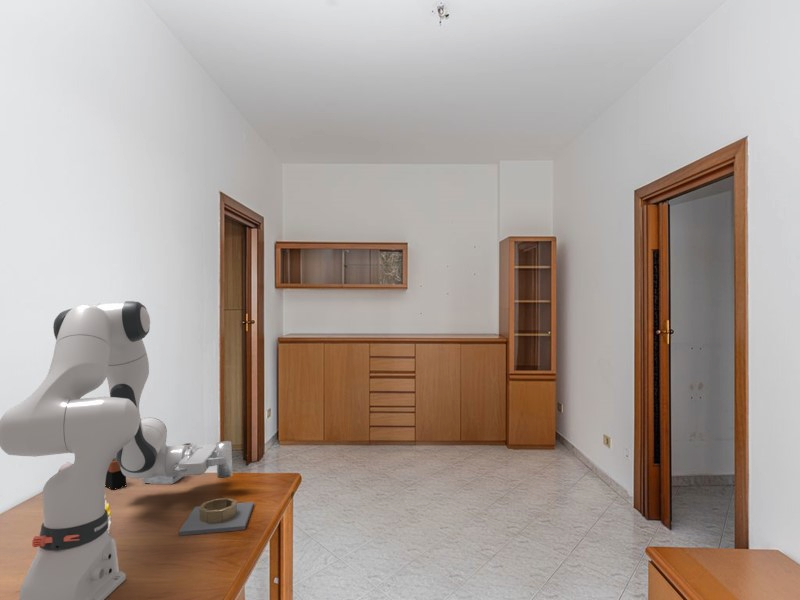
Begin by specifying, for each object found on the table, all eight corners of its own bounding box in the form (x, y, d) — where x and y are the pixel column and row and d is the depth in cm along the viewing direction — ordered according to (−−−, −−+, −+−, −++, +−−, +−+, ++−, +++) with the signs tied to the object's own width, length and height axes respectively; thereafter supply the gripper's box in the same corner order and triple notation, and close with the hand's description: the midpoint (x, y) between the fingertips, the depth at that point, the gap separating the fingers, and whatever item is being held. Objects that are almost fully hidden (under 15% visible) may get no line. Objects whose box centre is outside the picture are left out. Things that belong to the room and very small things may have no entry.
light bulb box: (183, 477, 177) (182, 445, 177) (172, 484, 171) (171, 451, 171) (153, 477, 178) (151, 445, 178) (141, 484, 172) (140, 451, 172)
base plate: (244, 529, 135) (244, 525, 135) (179, 535, 133) (179, 531, 133) (253, 505, 151) (253, 501, 151) (195, 510, 149) (195, 506, 149)
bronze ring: (232, 521, 138) (232, 509, 138) (197, 524, 137) (196, 512, 137) (238, 507, 147) (238, 497, 147) (205, 510, 146) (204, 499, 146)
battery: (112, 490, 167) (111, 459, 167) (103, 486, 171) (102, 455, 171) (127, 486, 170) (125, 455, 170) (117, 482, 175) (116, 452, 174)
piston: (231, 477, 159) (229, 444, 159) (215, 478, 159) (214, 445, 159) (233, 473, 164) (232, 440, 164) (218, 474, 163) (217, 441, 163)
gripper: (169, 460, 149) (219, 456, 151) (188, 441, 170) (232, 438, 171) (169, 482, 149) (220, 478, 151) (189, 461, 170) (233, 458, 171)
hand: (227, 457), depth 161 cm, fingers closed on piston, 4 cm apart
